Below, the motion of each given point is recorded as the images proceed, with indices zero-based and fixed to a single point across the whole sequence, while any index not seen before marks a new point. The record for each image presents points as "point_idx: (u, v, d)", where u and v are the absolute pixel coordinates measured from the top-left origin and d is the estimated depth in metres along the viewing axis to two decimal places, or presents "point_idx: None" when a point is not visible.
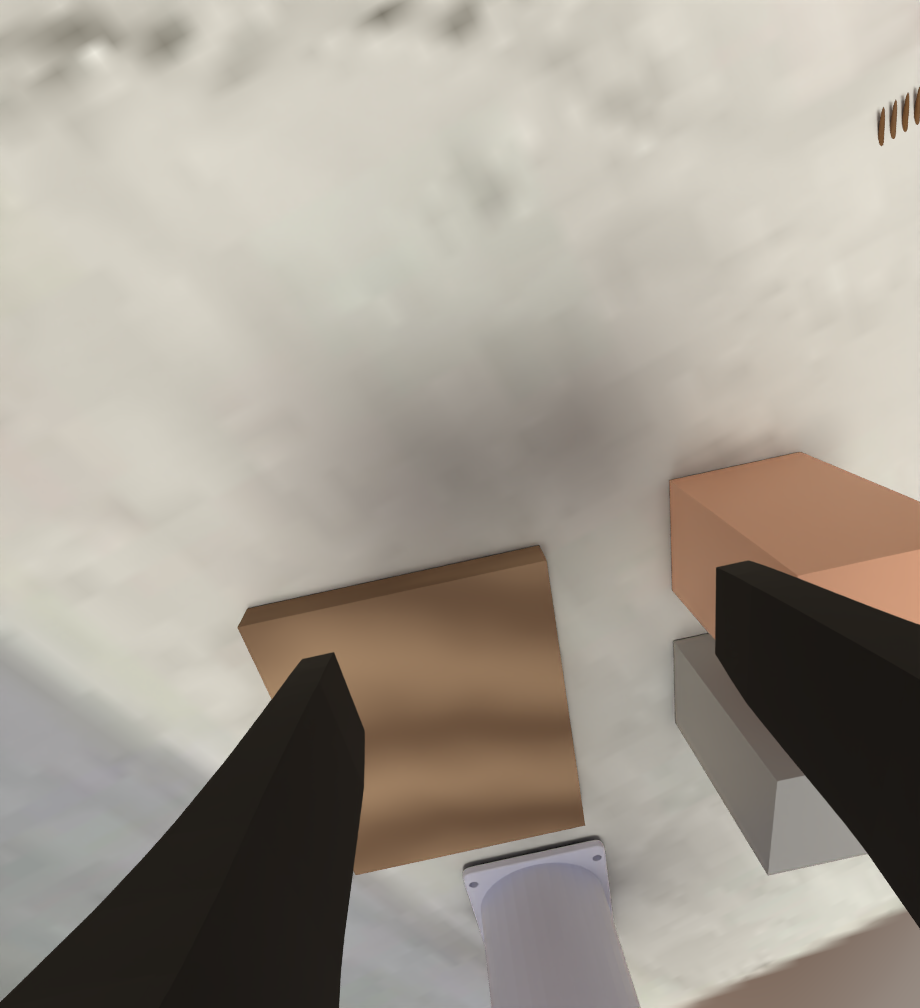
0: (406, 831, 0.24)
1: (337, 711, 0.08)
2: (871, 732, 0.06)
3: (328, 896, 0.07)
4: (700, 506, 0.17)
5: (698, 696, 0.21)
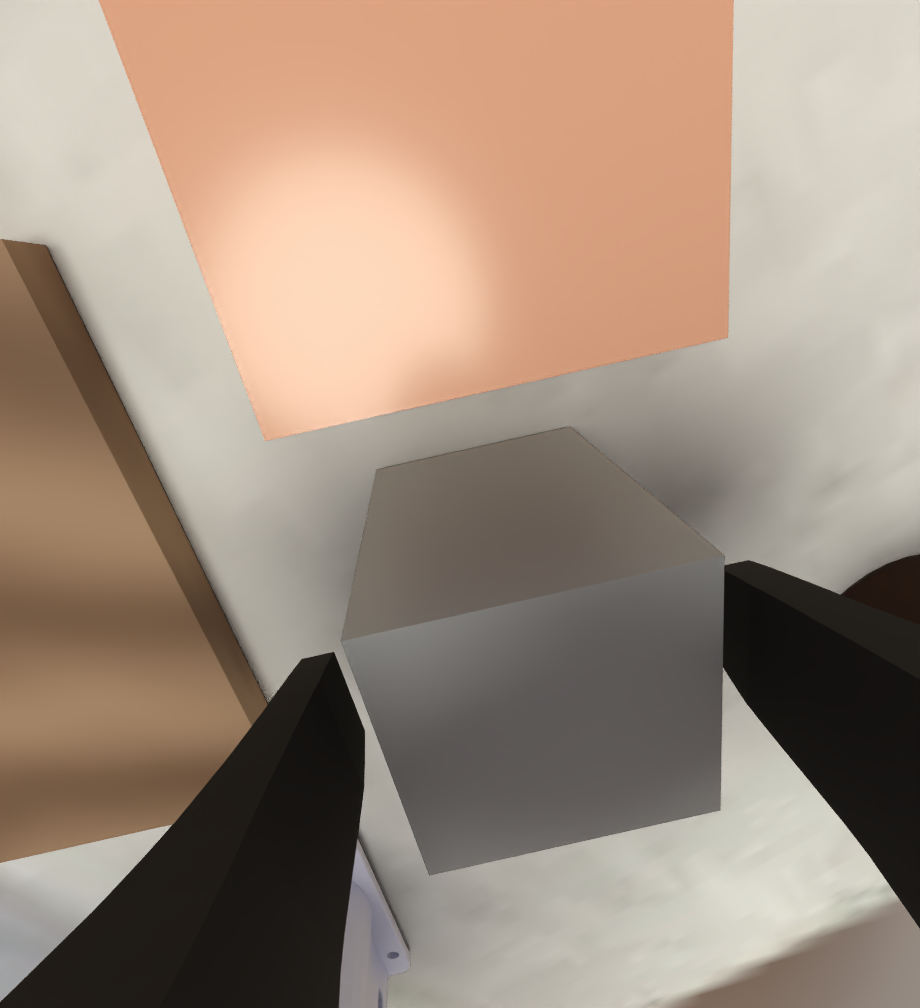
0: None
1: (337, 711, 0.08)
2: (872, 732, 0.06)
3: (328, 896, 0.07)
4: None
5: None
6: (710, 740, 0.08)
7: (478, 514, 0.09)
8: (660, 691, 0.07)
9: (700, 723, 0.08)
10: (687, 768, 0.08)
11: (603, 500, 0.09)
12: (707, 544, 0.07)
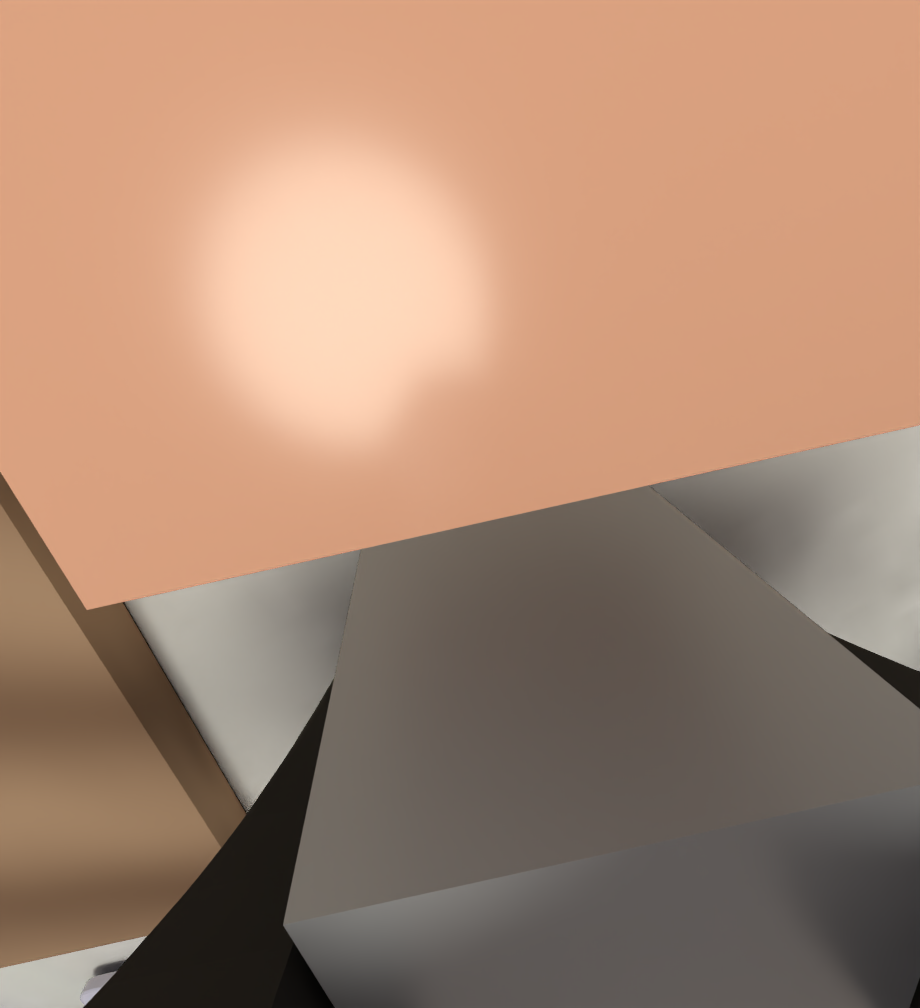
0: None
1: None
2: None
3: None
4: None
5: None
6: (893, 1005, 0.05)
7: (512, 614, 0.06)
8: (831, 954, 0.04)
9: (884, 987, 0.05)
10: None
11: (707, 602, 0.06)
12: None
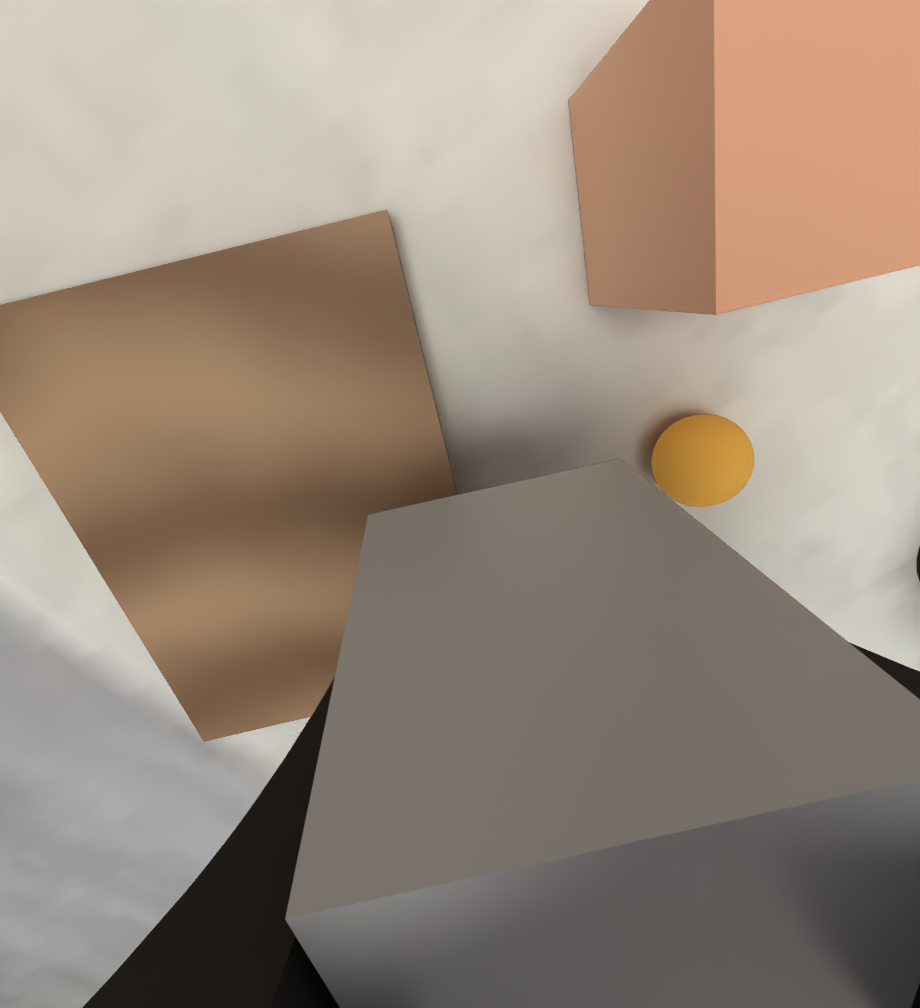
0: (260, 675, 0.18)
1: None
2: None
3: None
4: (597, 72, 0.11)
5: None
6: (896, 1000, 0.05)
7: (513, 610, 0.06)
8: (834, 949, 0.04)
9: (887, 982, 0.05)
10: None
11: (708, 597, 0.06)
12: None
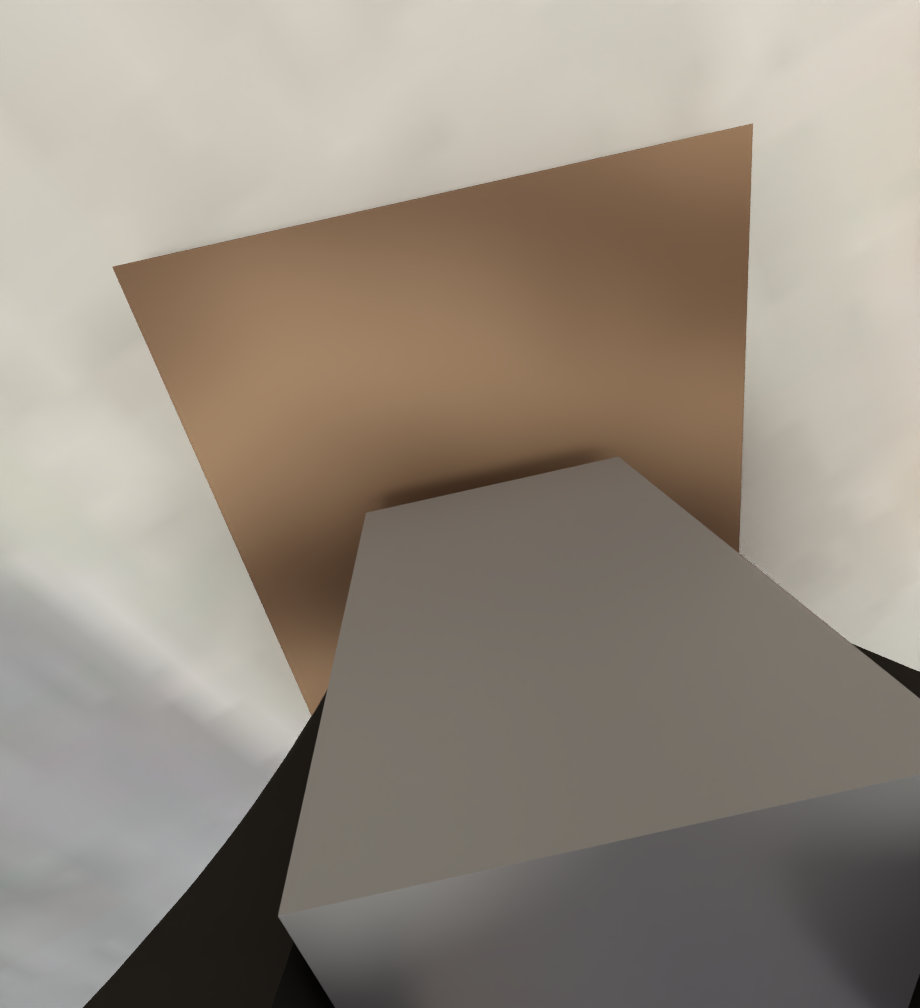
0: None
1: None
2: None
3: None
4: None
5: None
6: (893, 1000, 0.05)
7: (510, 607, 0.06)
8: (831, 947, 0.04)
9: (884, 981, 0.05)
10: None
11: (706, 595, 0.06)
12: None
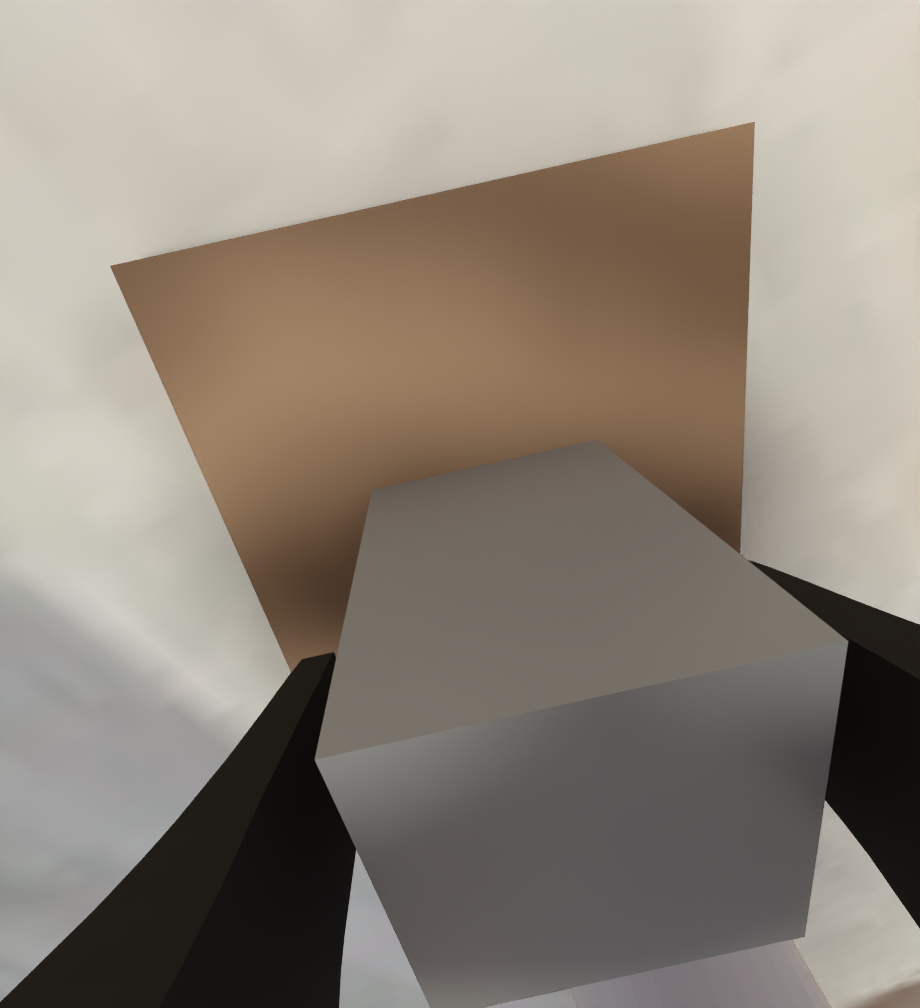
0: None
1: None
2: (872, 731, 0.06)
3: (328, 896, 0.07)
4: None
5: None
6: (801, 861, 0.06)
7: (496, 557, 0.07)
8: (743, 807, 0.06)
9: (791, 842, 0.06)
10: (768, 893, 0.06)
11: (656, 543, 0.07)
12: (817, 620, 0.05)
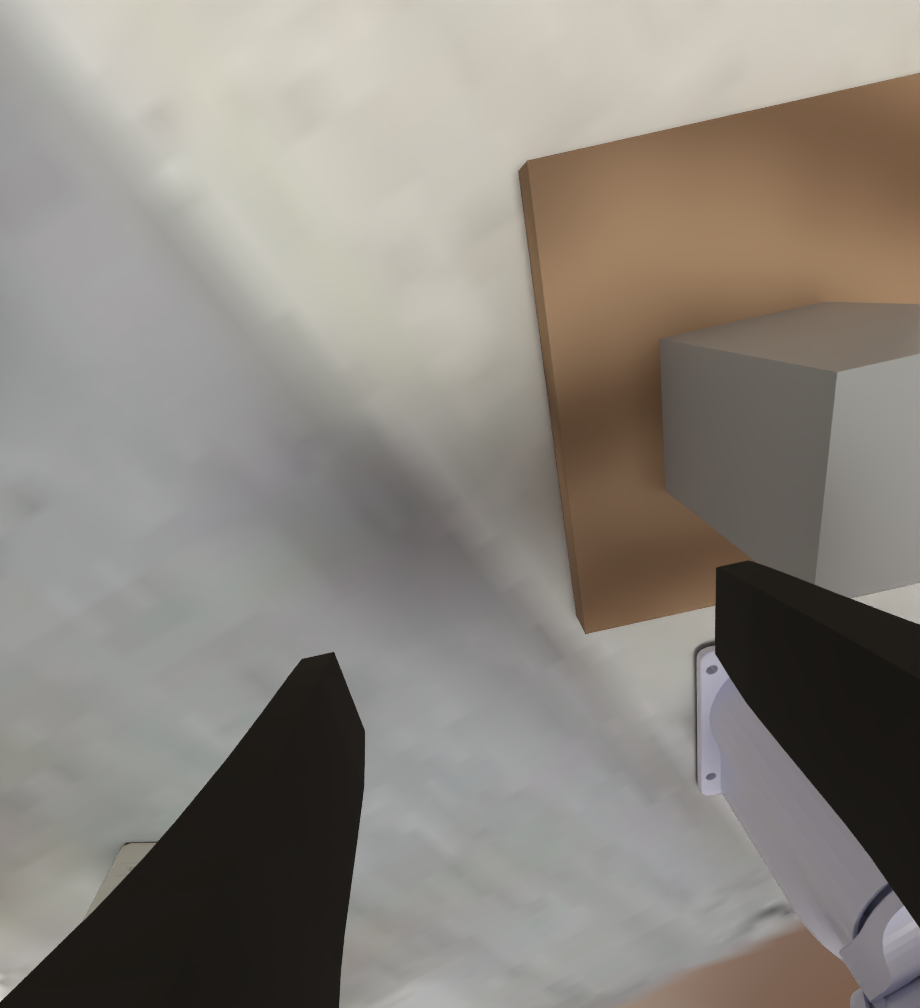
0: (663, 563, 0.19)
1: (337, 711, 0.08)
2: (871, 732, 0.06)
3: (328, 896, 0.07)
4: None
5: (696, 389, 0.14)
6: None
7: (832, 332, 0.12)
8: None
9: None
10: None
11: None
12: None
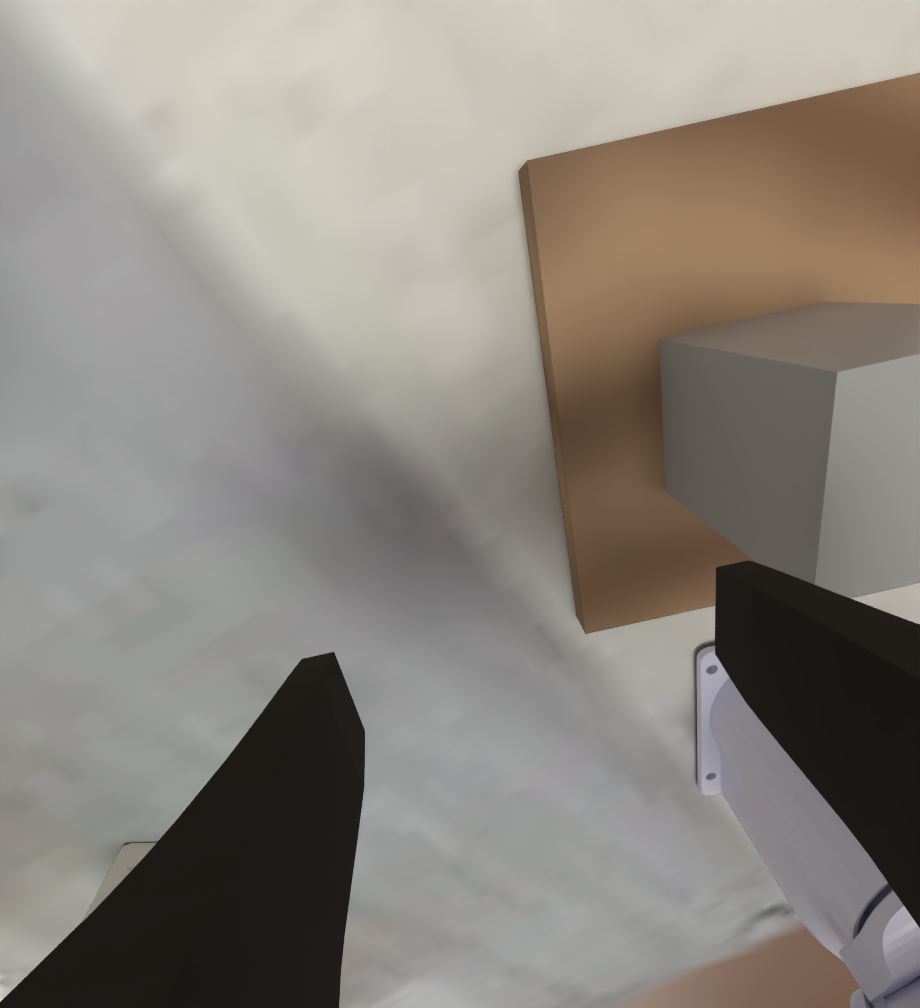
0: (663, 563, 0.19)
1: (337, 711, 0.08)
2: (871, 732, 0.06)
3: (328, 896, 0.07)
4: None
5: (696, 389, 0.14)
6: None
7: (832, 332, 0.12)
8: None
9: None
10: None
11: None
12: None
